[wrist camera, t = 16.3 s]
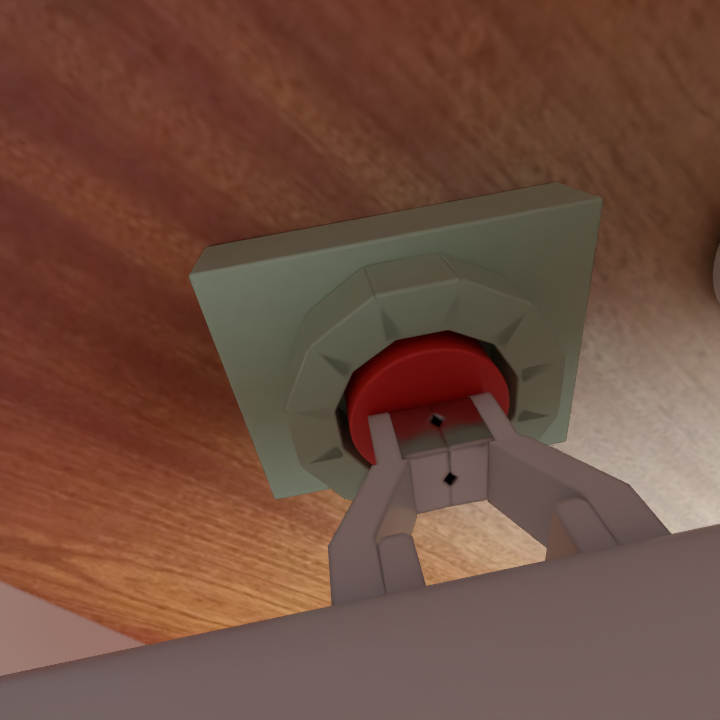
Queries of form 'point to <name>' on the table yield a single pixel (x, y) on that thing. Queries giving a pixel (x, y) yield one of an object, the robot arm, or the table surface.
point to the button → (419, 380)
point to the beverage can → (717, 274)
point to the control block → (398, 316)
